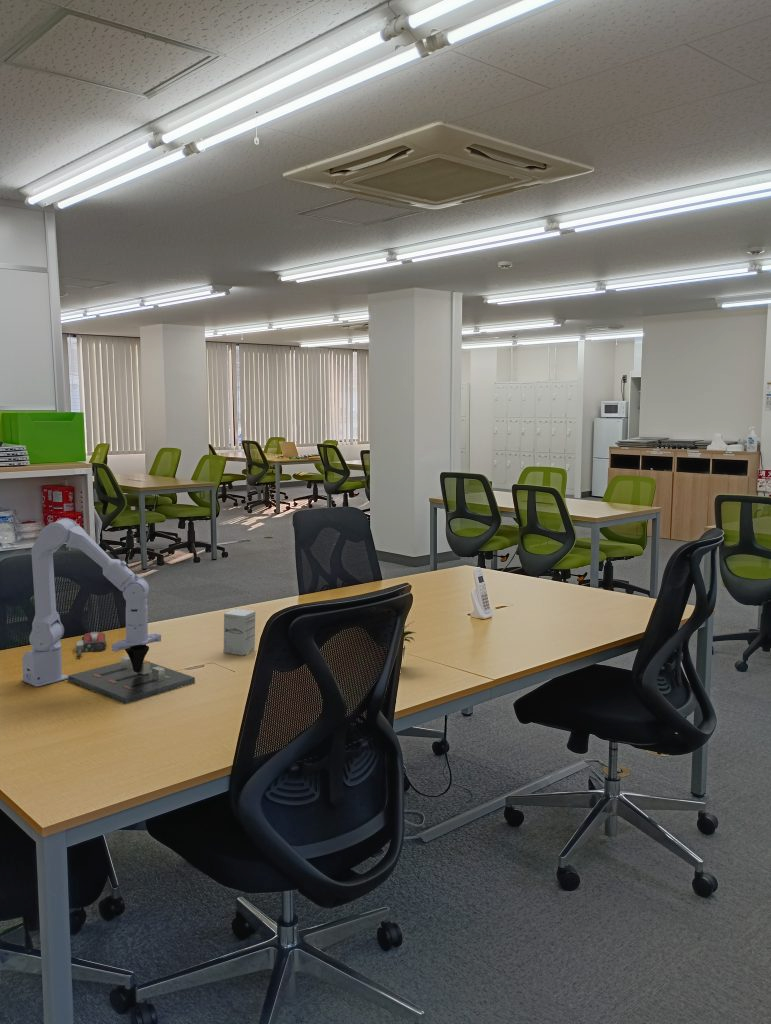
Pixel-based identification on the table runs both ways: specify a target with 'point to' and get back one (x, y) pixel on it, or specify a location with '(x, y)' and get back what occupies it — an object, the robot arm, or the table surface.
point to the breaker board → (130, 681)
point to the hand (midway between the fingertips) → (137, 671)
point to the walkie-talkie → (91, 642)
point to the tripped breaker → (145, 667)
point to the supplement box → (239, 631)
